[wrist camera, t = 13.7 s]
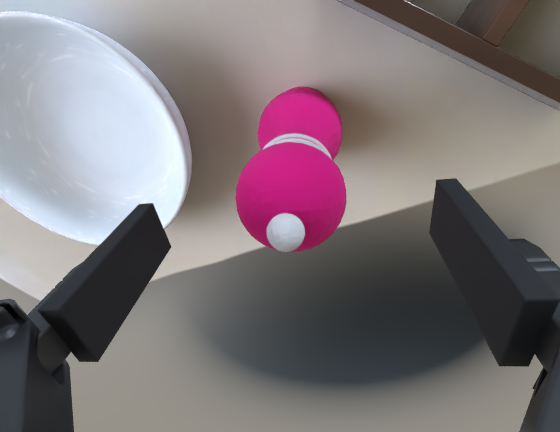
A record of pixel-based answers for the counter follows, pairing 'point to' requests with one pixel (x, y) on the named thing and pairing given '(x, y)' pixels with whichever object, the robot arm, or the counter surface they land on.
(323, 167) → the pepper mill
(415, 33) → the caddy
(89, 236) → the serving bowl
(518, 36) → the counter surface
